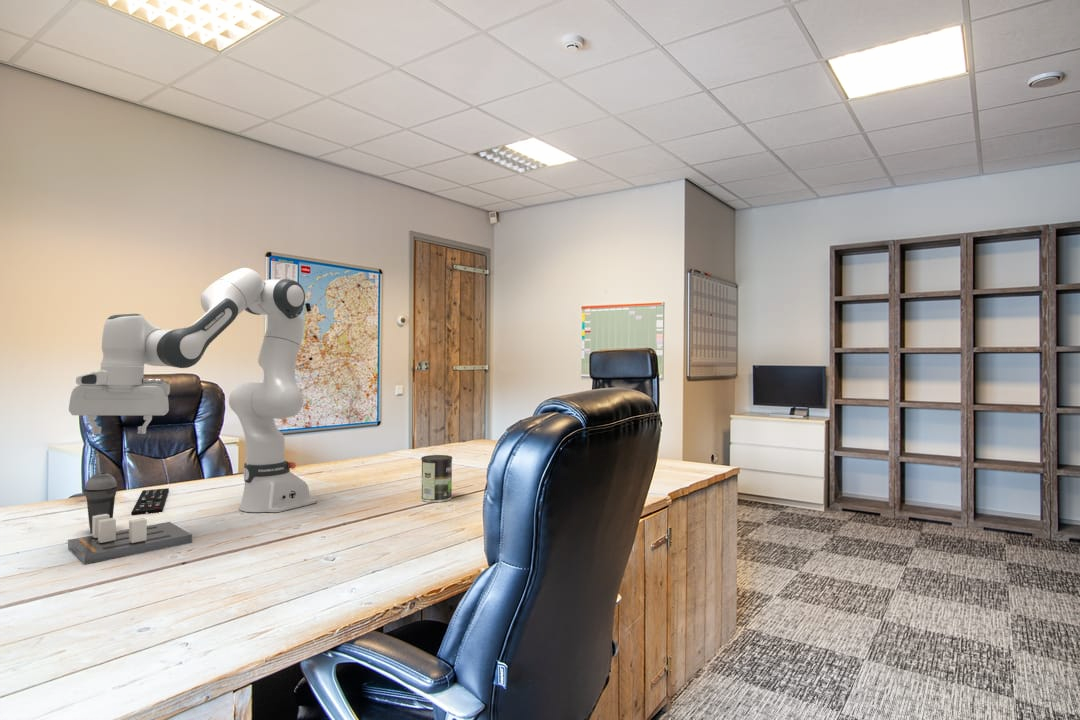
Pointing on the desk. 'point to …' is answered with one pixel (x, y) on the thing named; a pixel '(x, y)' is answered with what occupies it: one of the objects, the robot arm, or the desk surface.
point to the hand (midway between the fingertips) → (119, 433)
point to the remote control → (150, 501)
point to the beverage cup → (100, 494)
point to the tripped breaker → (137, 530)
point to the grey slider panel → (128, 543)
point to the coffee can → (436, 478)
